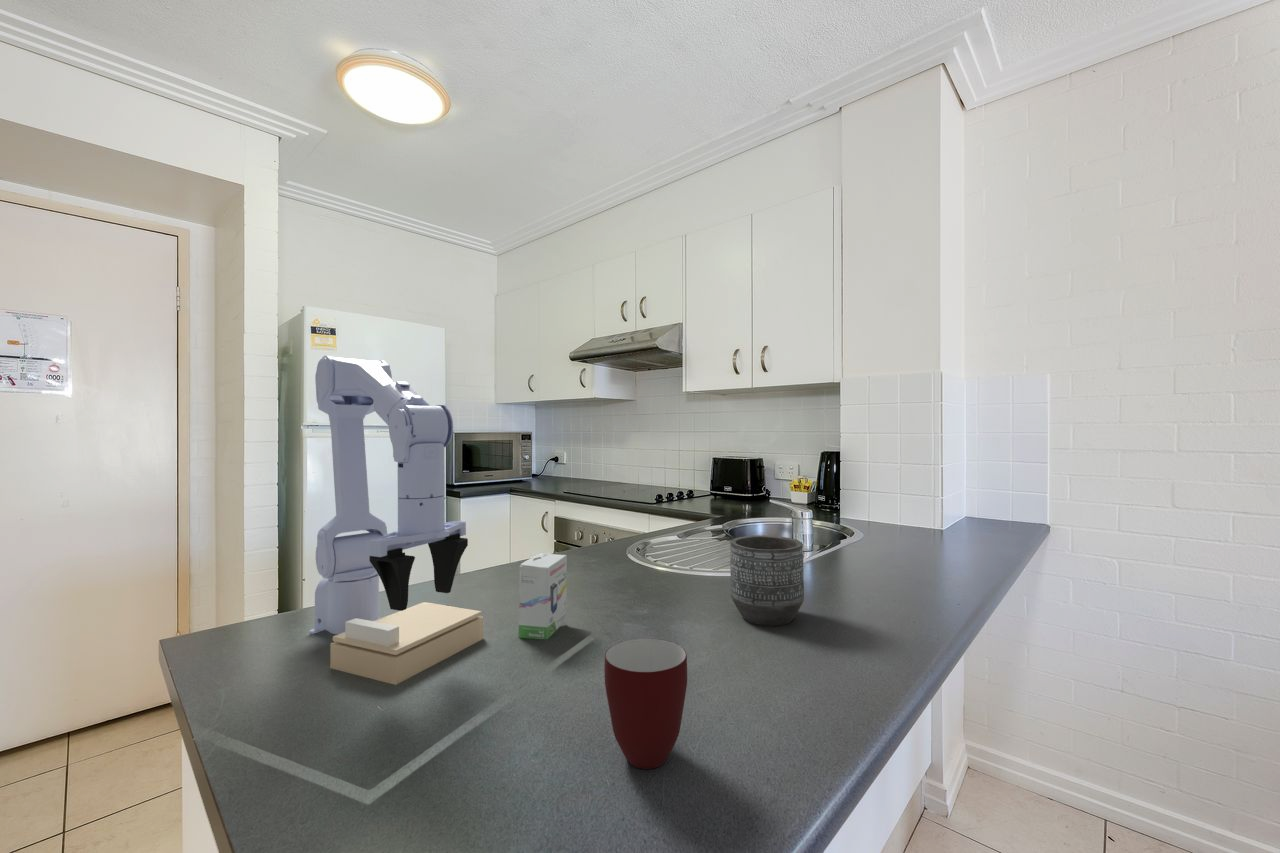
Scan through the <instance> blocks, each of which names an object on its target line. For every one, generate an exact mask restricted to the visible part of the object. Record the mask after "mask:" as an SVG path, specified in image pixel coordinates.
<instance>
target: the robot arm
mask: <svg viewBox="0 0 1280 853" xmlns="http://www.w3.org/2000/svg"><path fill="white" fill-rule="evenodd" d="M314 377H315V381H314V382H315V396H316V403H317V409H318V410H319V411H321V412H322V413H325V414H326V415H328V421H329V426H330V434H331V437H330V438H331V453H332V467H333V468H332V469H333V486H334V499H335V500H334V502H335V516H334V517H333V518H331V519H330V520H329V521H328V522H326V523H325V525H323V526H322V527H320V529H319V530H318V532H317V535H316V539H317V540H316V543H317V544H316V548H315V565H316V570H317V573H318V574H319V575H320V576H321V577H322V579H320V581H319V582H318V584H317V585H316V588H315V591H314V628H312V629H310V630H309V634H311V635H314V634H316V633H320V632H323V631H327V632H329V633H330V634H332V635H333V634H334V635H338V634H341V633H343V632H345V622H347V621H350V620H352V619H355V618H358V619H363V620H368V621H375V620H378V619H380V580H381V583H382V585H383V588H384V591H385V593H386V597H387V600H388V604H389V609H390V610H393V611H398V612H399V611H403V610H406V609H407V608H408V602H409V585H410V577H411V572H412V569H413V564H414V562H415V560H416V556H414V555H407V554H406V552H405V551H404V550H408V549H411V548H415V547H419V546H423V545H428V548H429V551H430V555H431V560H432V565H433V581H434V588H435V592H436V593H443V594H449V593H451V591H452V587H453V584H454V579H455V575H456V572H457V568H458V566H459V563H460V560H461V559H462V556H463V554H464V552H465V551H466V549H467V547H468V544H469V542H468V541H469V540H468V538H466V537H463V536H467V535H466V534H467V523H466V522H467V521H461V520H453V521H447V522H446V521H445V520H446V518H445V517H446V516H445V515H446V514H445V512H446V509H445V507H446V506H445V504H446V502H445V500H446V499H445V492H446V491H445V488H446V487H445V484H446V483H445V448H447V446H449V444H450V442H451V441H452V438H453V434H454V420H453V416H452V413H451V411H450V410H449V408H448V407H447V406H446V404H436V405H431V404H430V403H429V402H427V401H426V400H425V399H424V397H422V396H421V395H419V394H418V393H417V392H416V391H414V390H413V389H412V388H411V384H409V382H407V381H399V380H397V381H394V379H393V376H392V370H391V367H390V364H388V363H387V362H386V360H383V359H382V360H381V359H380V360H372V359H371V360H369V359H368V360H367V359H360V358H359V359H358V358H349V357H348V358H346V357H337V356H335V357H334V356H330V355H323V356H322V357H321V358H320V359H319V360H318V362H317V366H316V371H315V376H314ZM374 412H375V413H376V414H377V415H378V416H379V417H380V419H381V420H382V421H383V422H385V424H386V425H387V426H388V433H389V440H390V442H391V445H392V454H393V455H392V458H393V461H394V462H395V463H397V530H395V531H392V532H390V533H388V529H387V524H386V522H385V521H383V520H382V519H380V518H378V517H377V516H375V515H373V513H371V511H370V500H369V487H368V486H369V485H368V470H367V455H366V443H365V440H366V439H365V428H364V419H365V417H366V416H367V415H369V414H372V413H374ZM358 531H366V532H363V533H355V534H350V535H342V536H338V535H339V534H342V533H343V534H344V533H352V532H358ZM403 551H404V552H403Z"/></svg>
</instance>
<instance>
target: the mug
mask: <svg viewBox="0 0 1280 853" xmlns="http://www.w3.org/2000/svg"><path fill="white" fill-rule="evenodd" d="M687 661H688V656H687V651H686V650H685V648H683V647H682V646H680V645H679V644H677V643H674V642H672V641H668V640H664V639H659V638H635V639H633V638H632V639H627V640H624V641H620V642H618V643H615V644H613V645H612V646H610V647H609V648H608V649H607V650H606V651H605V654H604V686H605V687H604V688H605V692H606V697H607V698H606V699H607V704H608V710H609V714H610V721H611V726H612V731H613V735H614V738H615V740H616V743H617V744H618V747H619V748H620V749H621V751H622V753H623V756H624V757H625V759H626V761H627V763H629V765H631V766H632V767H635V768H637V769H644V770H650V769H655V768H658V767H659V768H660V767H661V766H662V765H664V764H665V763H666V761H667V760H668V758H669V756H670V754H671V753H672V750H673V748H674V747H675V745H676V742H677V740H678V737H679V734H680V731H681V725H682V720H683V712H684V706H685V700H686V696H687V695H686V694H687V687H688V662H687Z"/></svg>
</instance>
